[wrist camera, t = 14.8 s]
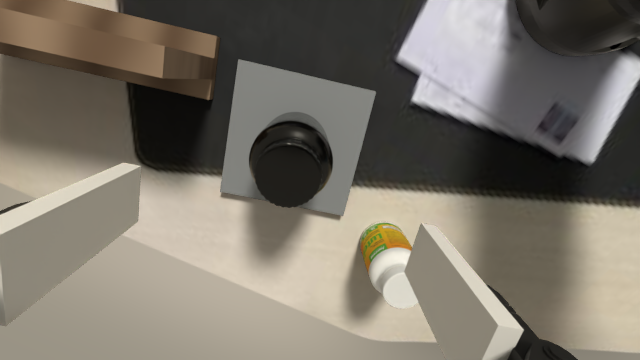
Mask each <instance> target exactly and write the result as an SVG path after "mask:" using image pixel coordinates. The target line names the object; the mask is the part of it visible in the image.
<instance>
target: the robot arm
mask: <svg viewBox="0 0 640 360" xmlns="http://www.w3.org/2000/svg"><path fill="white" fill-rule="evenodd" d="M516 4H517V9H518V12H519V15H520V18H521V21H522V23H523V25H524V27H525V28H526V30H527V31H528V33H529V34H530V35H531V37H532V38H533V39H534V40H535V41H536V42H537V43H538V44H540V45H541V46H543V47H544V48H546V49H547V50H549V51H552V52H554V53H557V54H561V55H566V56H586V55H596V54H603V53H608V52H612V51H615V50H619V49H621V48H624V47H626V46H629V45H631V44H633V43H635V42H637V41H639V40H640V0H516ZM140 179H141V166H138V165H134V164H129V163H121V164H119V165H116V166H114V167H112V168H109V169H107V170H105V171H102V172H100V173H98V174H95V175H93V176H91V177H88V178H86V179H83V180H81V181H79V182H76V183H74V184H72V185H69V186H67V187H65V188H62V189H60V190H57V191H55V192H53V193H50V194H48V195H46V196H43V197H41V198H39V199H36V200H34V201H29V202H25V203H20V204H16V205H13V206H11V207H8V208H6V209H4V210H1V211H0V325H2V326H7V325H8V324H9V323H11V322H12V321H13V320H14V319H16V318H17V317H18V316H19V315H21V314H22V313H23V312H24V311H26V310H27V309H28V308H29V307H31V306H32V305H33V304H34V303H35V302H37V301H38V300H40V299H41V298H42V297H43V296H45V295H46V294H47V293H48V292H50V291H51V290H52V289H53V288H55V287H56V286H57V285H58V284H60V283H61V282H62V281H63V280H65V279H66V278H67V277H68V276H70V275H71V274H72V273H74V272H75V271H76V270H77V269H79V268H80V267H81V266H82V265H84V264H85V263H86V262H87V261H88V260H90V259H91V258H93V257H94V256H95V255H96V254H98V253H99V252H100V251H101V250H102V249H104V248H105V247H106V246H108V245H109V244H110V243H111V242H113V241H114V240H115V239H116V238H118V237H119V236H120V235H122V234H123V233H124V232H125V231H127V230H128V229H129V228H130V227H132V226H133V225H134V224H135V223H137V222H138V213H139V196H140ZM404 272H405V275H406V277H407V279H408V281H409V283H410V285H411V287H412V289H413V292H414V294H415V296H416V298H417V300H418V302H419V304H420V306H421V309H422V311H423V313H424V315H425V317H426V319H427V321H428V323H429V326H430V328H431V330H432V332H433V334H434V336H435V338H436V340H437V343H438V345H439V347H440V349H441V351H442V353H443V355H444V357H445V359H446V360H578V359H576V358H575V357H574V356H573V355H572V354H571V353H569V352H568V351H566V350H565V349H563V348H561V347H560V346H558V345H556V344H554V343H552V342H549V341H546V340H542V339H539V338H538V337H537V336H536V335H535V334H534V332H533V331H532V330H531V329H530V328H529V327H528V326H527V324H526V323H525V322H524V321H523V320H522V319H521V317H520V316H519V315H517V314H516V312H515V311H514V309H513V308H512V307H511V306H509V304H508V303H507V301H506V300H505V299H504V298H503V297H502V296H501V295H500V294H499V293H498V292H497V291H495V290H494V289H493V288H491V287H490V286H489V285H486V284H485V283H484V282H483V281H482V280H481V278H480V277H479V276H478V275H477V274H476V272H475V271H474V270H473V269H472V268H471V267H470V265H469V264H468V263H467V262H466V261H465V259H464V258H463V257H462V256H461V255H460V253H459V252H458V251H457V250H456V249H455V248H454V246H453V245H452V244H451V243H450V242H449V240H448V239H447V238H446V237H445V236H444V234H443V233H442V232H441V231H440V230H439V229H438V227H437V226H434V225H429V224H425V223H421V225H420V228H419V230H418V233H417V236H416V239H415V242H414V245H413V248H412V250H411V253H410V256H409V259H408V262H407V265H406V268H405V271H404Z"/></svg>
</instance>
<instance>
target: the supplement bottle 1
mask: <svg viewBox="0 0 640 360" xmlns="http://www.w3.org/2000/svg"><path fill="white" fill-rule="evenodd" d="M249 168H250V172H251V175H252V178H253V180H254V181H255V183H256V185H257V189H258V190H259V191H260V193H261V195H263V196H264V197H265V199H266V200H269V201H270V203H274V204H275V205H276V206H281V207H288V208H290V207H297V206H298V205H303V204H304V203H307V202H308V201H309V200H310V199H313V197H314V196H315V195H317V194H318V193H319V192H320V191H321V190H322V189H323V188H324V187H325V186H326V184H327V183H328V181H329V179H330V176H331V173H332V169H333V155H332V150H331V147H330V144H329V141H328V138H327V135H326V133H325V130H324V129H323V127H322V126H321V124H320V123H319V122H318V121H317V120H316V119H315V118H313V117H311V116H310V115H308V114H305V113H301V112H288V113H284V114H281V115H279V116H278V117H276V118H275V119H273V120H272V121H271V122H270V123H269V124H268V125H267V126H266V127H265V128H264V129H263V130H262V131H261V132H260V133H259V135H258V136H257V137H256V139H255V140H254V142H253V144H252V147H251V150H250V154H249Z"/></svg>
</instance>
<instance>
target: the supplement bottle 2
mask: <svg viewBox="0 0 640 360" xmlns="http://www.w3.org/2000/svg"><path fill="white" fill-rule="evenodd" d="M360 247H361V251H362V254H363V258H364V261H365V265H366V268H367V271H368V275H369V278H370V281H371V283H372V285H373V286H374V288H375V289H376V290H377V291H378V292H380V293H381V294H382V295H383V297H384V299H385V301H386V302H387V303H388V304H389V305H390V306H392V307H395V308H399V309H405V308H410V307H412V306H415V305H416V304H417V303H419V302H418V300H417V298H416V296H415V294H414V292H413V289H412V287H411V285H410V283H409V281H408V279H407V277H406V275H405V272H404V271H405V268H406V265H407V262H408V259H409V256H410V253H411V250H412V247H411V245H410V244H409V242H408V240H407V239H406V237H405V235H404V234H403V232H402V231H401V229H400V228H399V227H398V226H396V225H395V224H393V223H390V222H377V223H374V224H372V225H370V226H369V227H367V228H366V229H365V230H364V232H363V234H362V236H361V239H360Z"/></svg>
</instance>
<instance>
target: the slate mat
mask: <svg viewBox="0 0 640 360" xmlns="http://www.w3.org/2000/svg"><path fill="white" fill-rule="evenodd" d="M375 94H376V92H375V91H371V90H367V89H363V88H358V87H354V86H350V85H346V84H341V83H337V82H333V81H329V80H324V79H320V78H316V77H312V76H307V75H303V74H299V73H295V72H290V71H286V70H282V69H278V68H273V67H269V66H265V65H261V64H256V63H252V62H248V61H244V60H239V59H238V66H237V73H236V80H235V88H234V95H233V102H232V109H231V116H230V124H229V131H228V138H227V145H226V152H225V160H224V167H223V174H222V181H221V189H220V192H224V193H229V194H234V195H239V196H244V197H249V198H254V199H260V200H265V201H269V200H266V199H265V197H264V196H263V195H261V193H260V191H259V190H258V189H257V185H256V183H255V181H254V180H253V178H252V175H251V172H250V168H249V154H250V150H251V147H252V144H253V142H254V140H255V139H256V137H257V136H258V135H259V133H260V132H261V131H262V130H263V129H264V128H265V127H266V126H267V125H268V124H269V123H270V122H271V121H272V120H273V119H275V118H276V117H278V116H279V115H281V114H284V113H288V112H301V113H305V114H308V115H310V116H311V117H313V118H315V119H316V120H317V121H318V122H319V123H320V124H321V126H322V127H323V129H324V130H325V133H326V135H327V138H328V141H329V144H330V147H331V150H332V155H333V169H332V173H331V176H330V179H329V181H328V183H327V184H326V186H325V187H324V188H323V189H322V190H321V191H320V192H319V193H318V194H317V195H315V196H314V197H313V199H310V200H309V201H308V202H307V203H304V204H303V205H298V206H297V207H300V208H306V209H311V210H316V211H321V212H326V213H331V214H336V215H341V216H343V215H344V211H345V207H346V203H347V200H348V196H349V192H350V188H351V184H352V181H353V177H354V173H355V169H356V166H357V162H358V158H359V154H360V151H361V147H362V143H363V139H364V136H365V132H366V128H367V124H368V120H369V117H370V113H371V109H372V105H373V102H374V98H375Z"/></svg>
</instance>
